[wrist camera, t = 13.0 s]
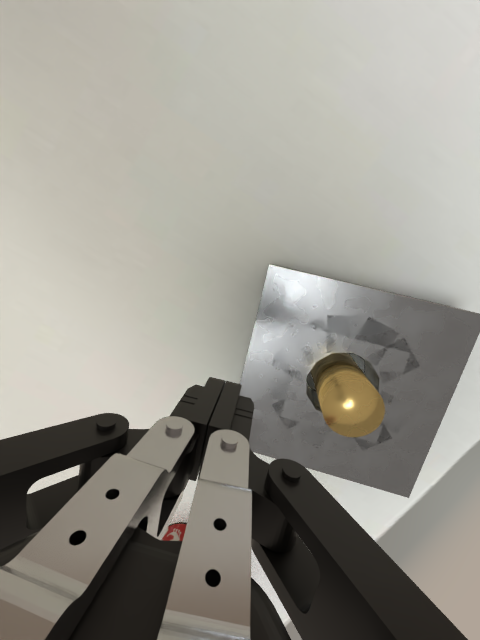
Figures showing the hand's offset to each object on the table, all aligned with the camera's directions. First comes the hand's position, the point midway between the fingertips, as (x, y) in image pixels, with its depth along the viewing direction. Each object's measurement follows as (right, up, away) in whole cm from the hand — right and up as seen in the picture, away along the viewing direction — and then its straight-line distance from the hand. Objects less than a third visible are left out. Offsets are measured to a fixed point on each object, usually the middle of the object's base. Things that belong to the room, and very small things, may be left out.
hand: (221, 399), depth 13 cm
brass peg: (+9, -1, +14) cm, 17 cm away
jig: (+10, -1, +14) cm, 17 cm away
